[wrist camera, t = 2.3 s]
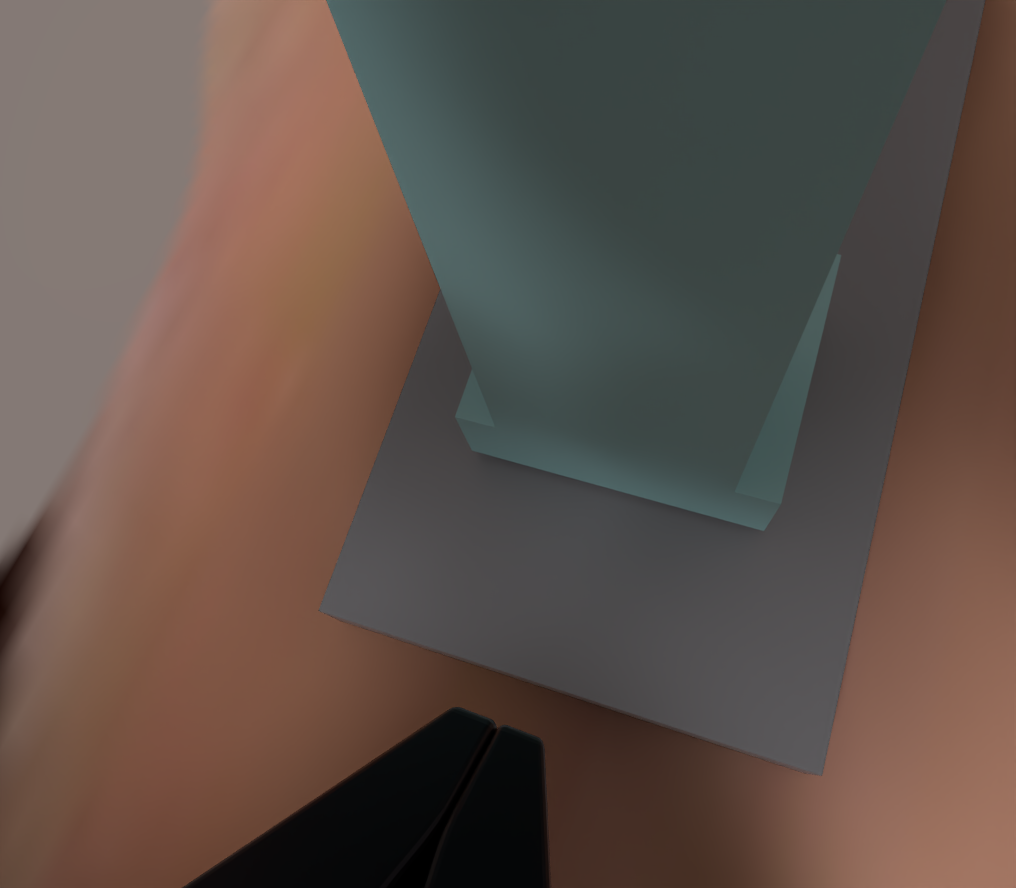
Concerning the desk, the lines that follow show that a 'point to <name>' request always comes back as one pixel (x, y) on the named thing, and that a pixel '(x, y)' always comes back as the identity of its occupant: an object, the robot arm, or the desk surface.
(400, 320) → the desk surface
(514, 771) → the robot arm
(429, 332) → the track
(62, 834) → the desk surface
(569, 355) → the teal upright block
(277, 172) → the desk surface
